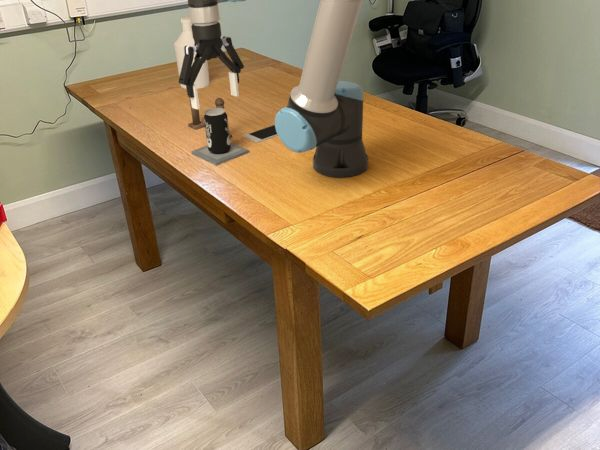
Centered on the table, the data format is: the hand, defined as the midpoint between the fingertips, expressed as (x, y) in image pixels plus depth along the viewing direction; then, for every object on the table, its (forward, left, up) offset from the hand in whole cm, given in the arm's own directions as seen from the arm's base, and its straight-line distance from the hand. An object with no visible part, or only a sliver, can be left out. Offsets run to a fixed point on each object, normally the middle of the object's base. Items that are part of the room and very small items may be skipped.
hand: (216, 101), depth 163 cm
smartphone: (+2, -20, -16) cm, 26 cm away
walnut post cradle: (+17, -8, -16) cm, 24 cm away
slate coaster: (+1, 0, -16) cm, 16 cm away
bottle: (+62, -34, -16) cm, 72 cm away
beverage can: (+1, 0, -15) cm, 15 cm away
